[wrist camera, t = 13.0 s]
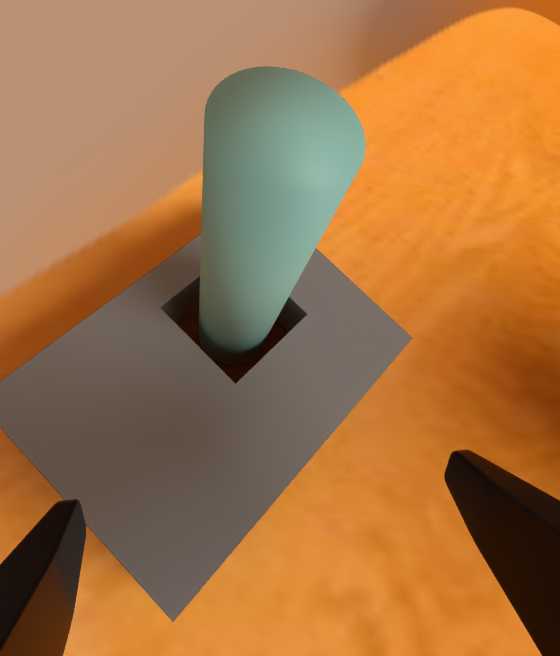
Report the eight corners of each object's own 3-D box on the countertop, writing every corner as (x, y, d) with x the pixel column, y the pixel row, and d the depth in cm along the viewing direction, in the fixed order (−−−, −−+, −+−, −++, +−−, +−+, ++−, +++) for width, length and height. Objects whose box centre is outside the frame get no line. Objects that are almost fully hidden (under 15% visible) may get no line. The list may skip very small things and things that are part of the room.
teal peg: (254, 372, 18) (353, 217, 7) (190, 354, 18) (182, 161, 7) (269, 313, 20) (374, 99, 8) (209, 296, 19) (229, 46, 8)
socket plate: (178, 592, 15) (172, 622, 12) (14, 410, 16) (-25, 399, 13) (383, 355, 20) (412, 337, 17) (249, 228, 21) (256, 193, 18)
